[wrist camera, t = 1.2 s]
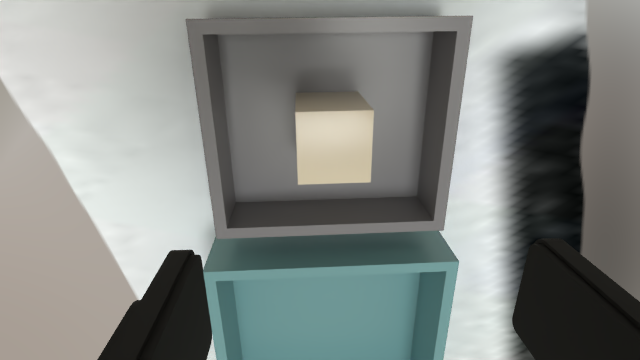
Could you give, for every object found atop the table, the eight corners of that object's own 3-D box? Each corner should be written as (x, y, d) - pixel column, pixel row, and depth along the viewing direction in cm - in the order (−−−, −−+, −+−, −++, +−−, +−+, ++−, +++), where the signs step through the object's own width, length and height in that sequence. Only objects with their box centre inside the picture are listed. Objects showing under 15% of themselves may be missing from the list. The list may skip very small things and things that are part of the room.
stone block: (295, 92, 26) (295, 112, 21) (358, 91, 26) (373, 110, 21) (297, 152, 28) (298, 184, 22) (356, 150, 28) (370, 182, 23)
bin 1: (206, 19, 25) (185, 19, 20) (441, 16, 26) (473, 15, 21) (228, 206, 30) (216, 239, 26) (422, 199, 31) (443, 230, 27)
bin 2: (219, 227, 31) (202, 272, 26) (431, 219, 32) (459, 261, 27) (239, 380, 38) (230, 440, 33) (412, 370, 39) (432, 428, 34)
